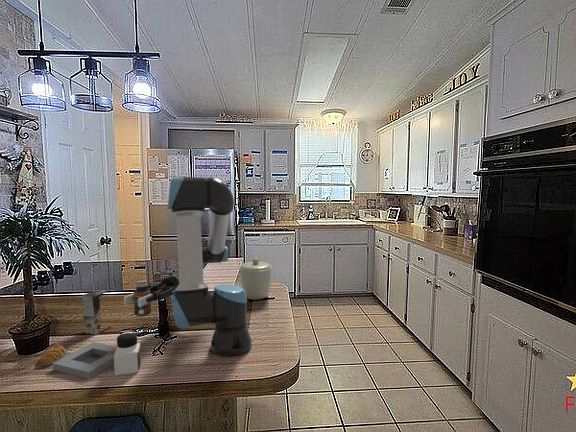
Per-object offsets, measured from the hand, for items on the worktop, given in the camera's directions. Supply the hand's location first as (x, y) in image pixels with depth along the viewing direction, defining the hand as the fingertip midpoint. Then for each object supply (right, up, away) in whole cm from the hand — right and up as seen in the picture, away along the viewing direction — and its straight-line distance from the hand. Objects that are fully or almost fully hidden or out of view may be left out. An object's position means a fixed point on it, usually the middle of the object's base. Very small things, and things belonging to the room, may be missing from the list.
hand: (131, 301), depth 128 cm
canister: (+40, -12, +60) cm, 73 cm away
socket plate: (-10, -19, -8) cm, 23 cm away
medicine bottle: (+4, -20, -12) cm, 23 cm away
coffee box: (-22, -16, +19) cm, 33 cm away
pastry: (-25, -19, -5) cm, 32 cm away
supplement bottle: (+2, -6, +6) cm, 8 cm away
